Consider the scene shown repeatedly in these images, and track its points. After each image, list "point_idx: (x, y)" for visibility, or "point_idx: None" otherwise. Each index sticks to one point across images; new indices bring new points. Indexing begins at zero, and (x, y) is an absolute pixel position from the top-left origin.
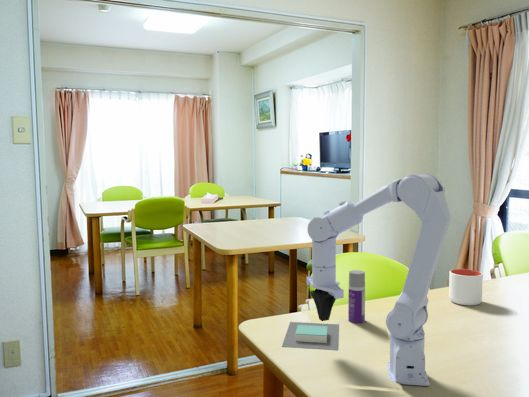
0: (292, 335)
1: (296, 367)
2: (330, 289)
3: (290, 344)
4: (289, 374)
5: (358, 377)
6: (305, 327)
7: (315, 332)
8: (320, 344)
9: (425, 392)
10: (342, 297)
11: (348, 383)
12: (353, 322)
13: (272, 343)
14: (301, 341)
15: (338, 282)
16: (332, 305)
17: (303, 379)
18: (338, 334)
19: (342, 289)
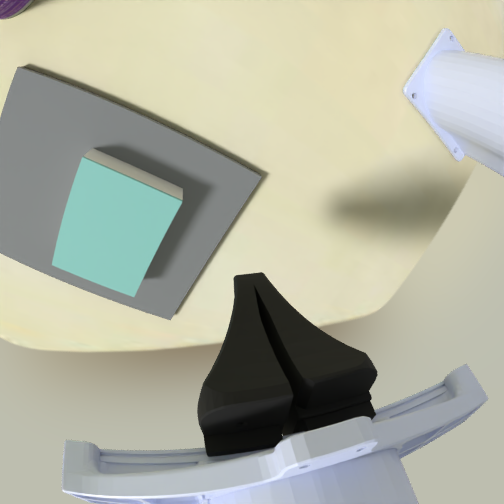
0: None
1: None
2: (424, 443)
3: (160, 298)
4: None
5: (405, 204)
6: (79, 248)
7: (137, 231)
8: (188, 214)
9: None
10: (465, 371)
11: (407, 237)
12: (25, 3)
13: (126, 324)
14: None
15: (376, 443)
16: (308, 323)
17: (342, 308)
18: (114, 105)
19: (481, 403)
